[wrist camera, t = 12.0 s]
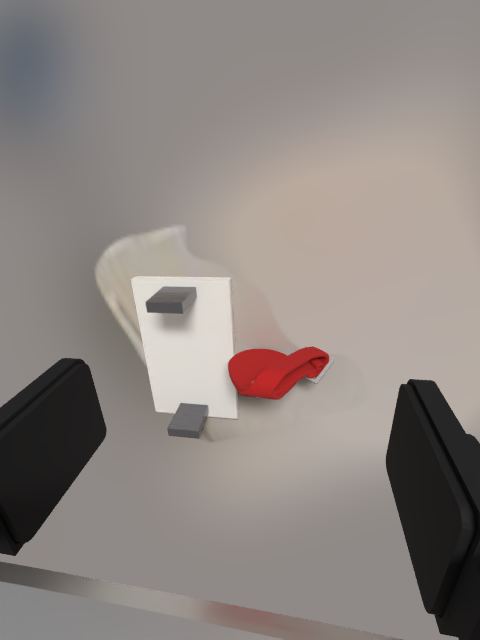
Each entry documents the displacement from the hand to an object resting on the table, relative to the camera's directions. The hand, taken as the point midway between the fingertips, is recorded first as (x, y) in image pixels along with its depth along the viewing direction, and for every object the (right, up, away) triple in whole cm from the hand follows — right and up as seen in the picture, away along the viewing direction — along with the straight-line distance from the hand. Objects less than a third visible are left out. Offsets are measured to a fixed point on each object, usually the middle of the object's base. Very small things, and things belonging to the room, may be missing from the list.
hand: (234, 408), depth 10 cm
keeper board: (-6, -1, +34) cm, 34 cm away
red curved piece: (+6, -1, +31) cm, 32 cm away
